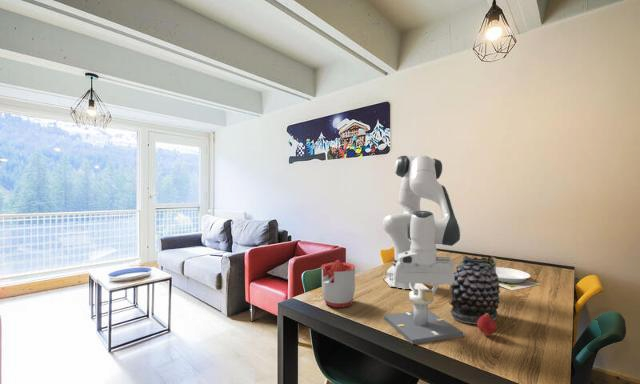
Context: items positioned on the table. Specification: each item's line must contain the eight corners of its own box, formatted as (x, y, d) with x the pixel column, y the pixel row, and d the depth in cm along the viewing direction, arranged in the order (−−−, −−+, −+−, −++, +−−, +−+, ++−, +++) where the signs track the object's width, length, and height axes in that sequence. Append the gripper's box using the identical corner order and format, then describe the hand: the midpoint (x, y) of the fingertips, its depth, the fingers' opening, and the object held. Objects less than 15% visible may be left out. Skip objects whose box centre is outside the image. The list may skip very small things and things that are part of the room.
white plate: (472, 278, 167) (472, 272, 167) (487, 270, 184) (486, 264, 184) (524, 288, 148) (524, 281, 148) (535, 278, 165) (535, 272, 165)
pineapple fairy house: (478, 307, 125) (477, 249, 125) (511, 321, 111) (510, 256, 111) (440, 314, 118) (439, 253, 118) (470, 331, 104) (469, 261, 104)
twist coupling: (403, 294, 114) (402, 279, 114) (422, 293, 115) (422, 279, 115) (417, 309, 99) (417, 292, 99) (440, 308, 100) (440, 291, 100)
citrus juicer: (311, 305, 129) (311, 261, 129) (335, 294, 142) (334, 254, 142) (340, 314, 119) (339, 266, 119) (362, 302, 132) (361, 258, 132)
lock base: (383, 319, 114) (383, 295, 114) (427, 313, 119) (427, 290, 119) (412, 344, 95) (411, 315, 95) (463, 336, 100) (462, 308, 100)
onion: (473, 332, 103) (473, 309, 103) (489, 331, 103) (488, 309, 103) (484, 340, 97) (484, 316, 97) (500, 339, 97) (500, 316, 97)
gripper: (451, 255, 104) (452, 293, 104) (393, 254, 108) (394, 290, 108) (456, 259, 98) (457, 300, 98) (394, 258, 102) (395, 297, 102)
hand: (423, 295), depth 103 cm, fingers open, 4 cm apart
